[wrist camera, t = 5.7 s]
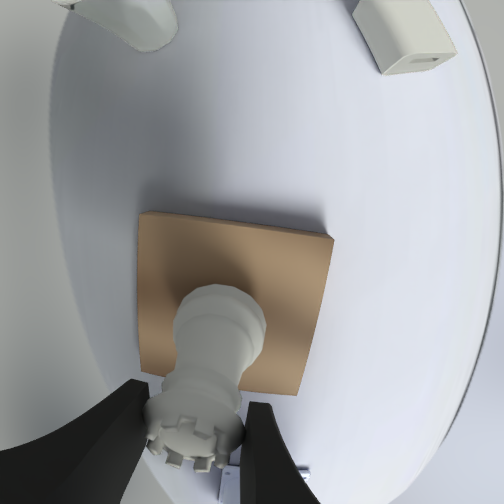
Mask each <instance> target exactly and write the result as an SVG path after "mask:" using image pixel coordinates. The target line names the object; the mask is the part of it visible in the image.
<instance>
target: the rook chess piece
mask: <svg viewBox="0 0 504 504" xmlns="http://www.w3.org/2000/svg"><path fill="white" fill-rule="evenodd" d="M265 331H266V321H265V318H264V314H263V311H262V309H261V307H260V306H259V305H258V304H257V303H256V302H255V300H254V299H253V298H252V297H251V296H250V295H248V294H247V293H245V292H243V291H241V290H239V289H237V288H236V287H233V286H226V285H219V284H212V285H208V286H203V287H199V288H196V289H195V290H194V291H192V292H191V293H190V294H188V295H187V296H186V297H184V299H183V300H182V302H181V304H180V306H179V308H178V310H177V314H176V316H175V318H174V320H173V341H174V343H175V345H176V350H177V353H178V355H177V360H176V365H175V369H174V371H172V372H170V373H168V374H167V375H166V377H165V379H164V381H163V382H162V393H160V394H158V395H156V396H154V397H152V398H150V399H148V400H147V402H146V404H145V405H144V407H143V409H142V414H143V420H144V424H145V426H146V428H147V431H146V434H145V436H144V437H145V438H148V439H149V440H148V442H147V445H146V447H147V448H148V449H149V450H150V452H151V453H152V454H153V455H161V452H162V449H164V450H165V451H167V452H168V456H167V460H166V464H168V465H171V466H173V467H175V468H178V469H180V467H181V464H182V460H183V459H186V460H191V461H195V463H194V467H193V469H194V471H195V472H210V468H211V462H212V461H215V462H214V466H216V467H218V468H221V469H222V468H224V467H225V466H226V465H227V464H228V463H229V460H230V455H231V453H232V452H233V451H234V450H236V449H237V448H238V447H239V446H240V445H241V444H242V443H243V442H244V438H245V433H246V429H245V427H244V425H243V423H242V420H241V418H240V417H239V416H238V415H237V414H236V413H237V412H238V410H239V409H240V407H241V401H242V397H241V394H240V392H239V389H238V384H239V381H240V378H241V375H242V373H243V372H244V371H245V370H246V369H247V367H249V366H250V365H252V363H253V362H254V361H255V359H256V358H257V357H258V355H259V354H260V353H261V351H262V348H263V343H264V337H265Z"/></svg>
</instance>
